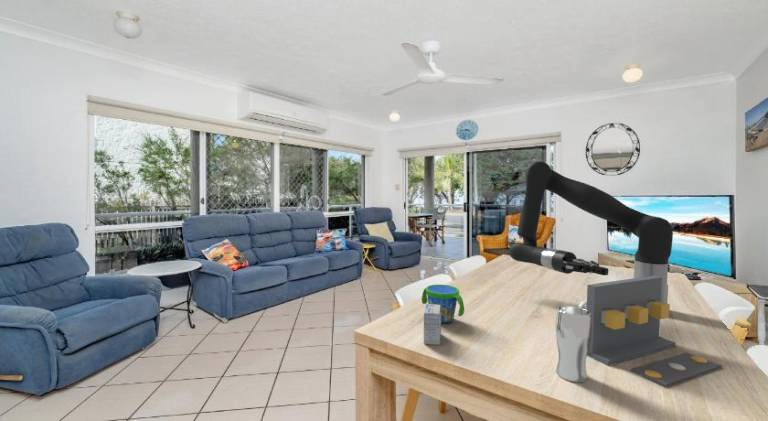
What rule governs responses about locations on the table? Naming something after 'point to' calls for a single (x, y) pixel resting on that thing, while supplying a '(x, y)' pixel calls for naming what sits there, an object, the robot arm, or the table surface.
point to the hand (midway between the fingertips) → (606, 272)
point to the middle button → (636, 314)
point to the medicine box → (432, 324)
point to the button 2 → (658, 309)
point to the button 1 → (609, 317)
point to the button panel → (634, 337)
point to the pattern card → (675, 369)
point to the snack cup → (444, 300)
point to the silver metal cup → (573, 342)
